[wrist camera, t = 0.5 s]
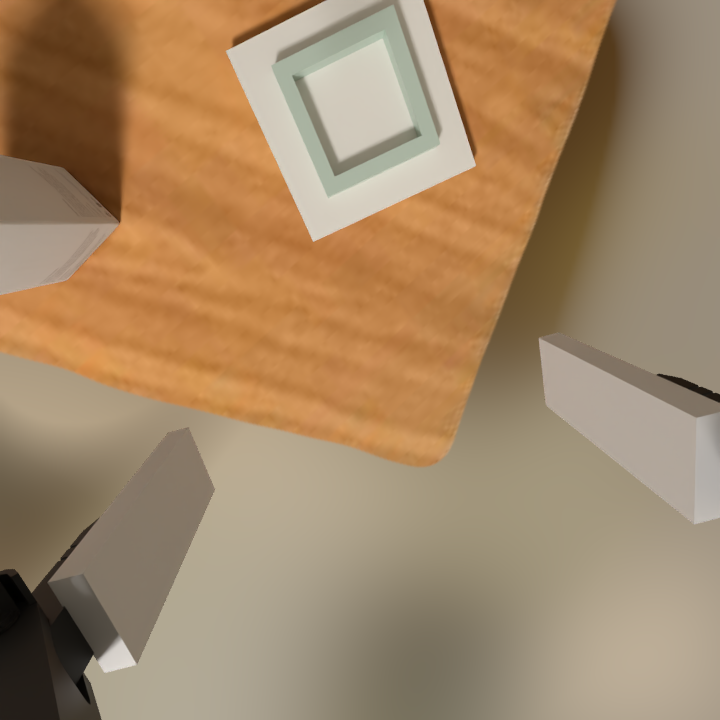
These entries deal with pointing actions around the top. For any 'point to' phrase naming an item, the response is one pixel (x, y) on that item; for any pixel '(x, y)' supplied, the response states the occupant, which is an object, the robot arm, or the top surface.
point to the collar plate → (354, 107)
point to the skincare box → (45, 224)
